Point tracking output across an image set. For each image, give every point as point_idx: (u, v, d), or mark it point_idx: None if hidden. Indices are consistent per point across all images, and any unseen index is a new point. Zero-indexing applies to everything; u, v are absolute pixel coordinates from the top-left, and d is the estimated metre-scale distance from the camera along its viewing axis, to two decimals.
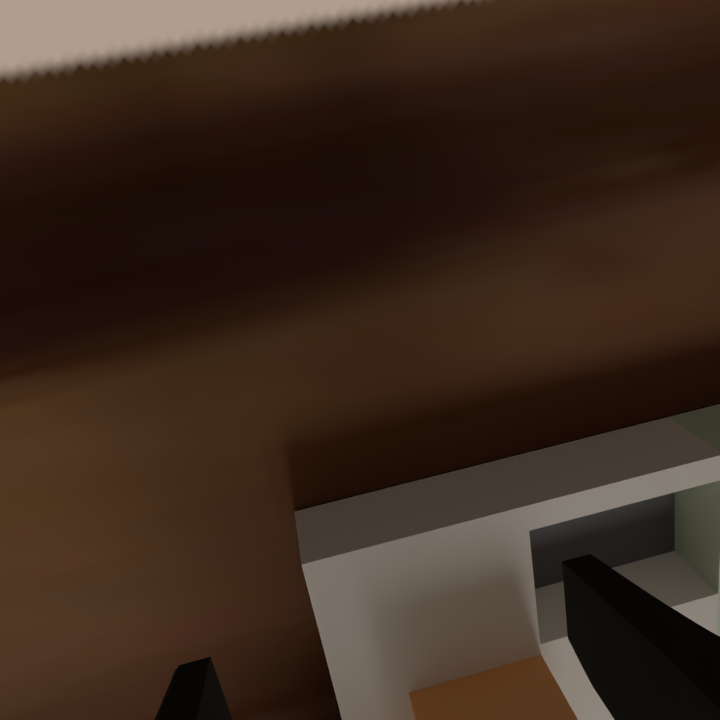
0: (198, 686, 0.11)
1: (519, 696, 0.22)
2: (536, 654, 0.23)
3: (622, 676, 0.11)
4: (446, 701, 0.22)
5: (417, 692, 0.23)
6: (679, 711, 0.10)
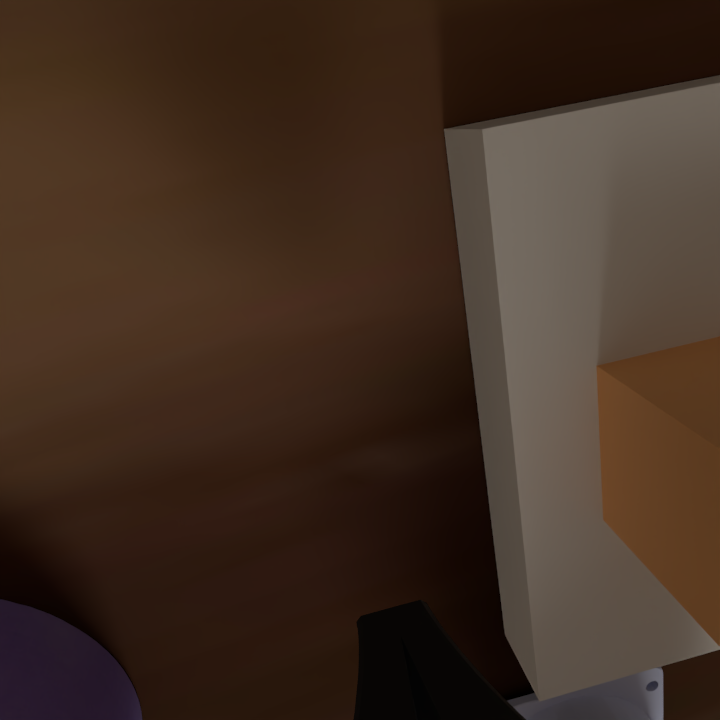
0: (392, 632, 0.12)
1: None
2: None
3: None
4: (654, 366, 0.17)
5: (607, 367, 0.17)
6: None
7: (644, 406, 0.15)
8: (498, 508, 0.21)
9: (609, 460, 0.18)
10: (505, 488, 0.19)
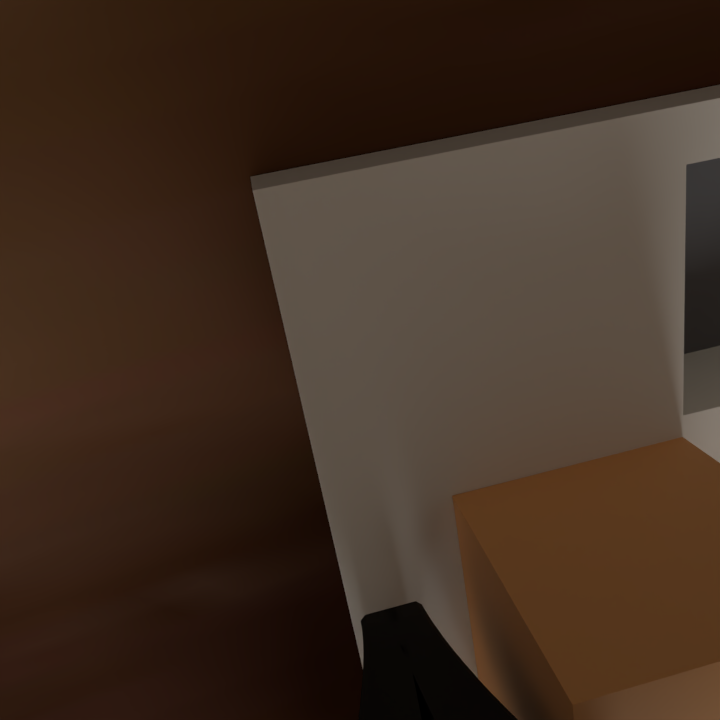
0: (397, 631, 0.12)
1: (660, 488, 0.12)
2: (674, 436, 0.13)
3: None
4: (523, 502, 0.12)
5: (467, 497, 0.13)
6: None
7: (494, 576, 0.11)
8: None
9: (474, 616, 0.13)
10: None
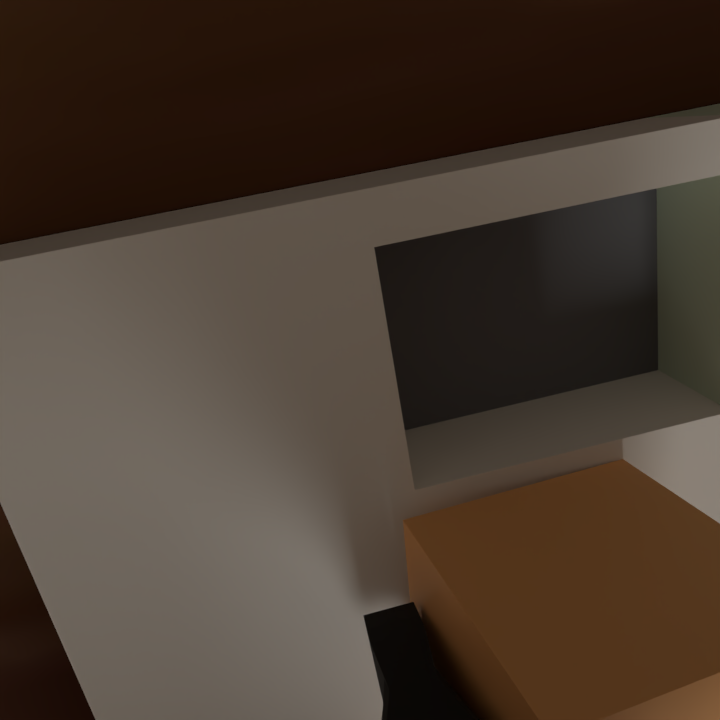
0: (417, 626, 0.12)
1: (608, 509, 0.12)
2: (409, 510, 0.13)
3: None
4: (476, 525, 0.12)
5: (418, 521, 0.12)
6: None
7: (453, 604, 0.10)
8: None
9: None
10: None
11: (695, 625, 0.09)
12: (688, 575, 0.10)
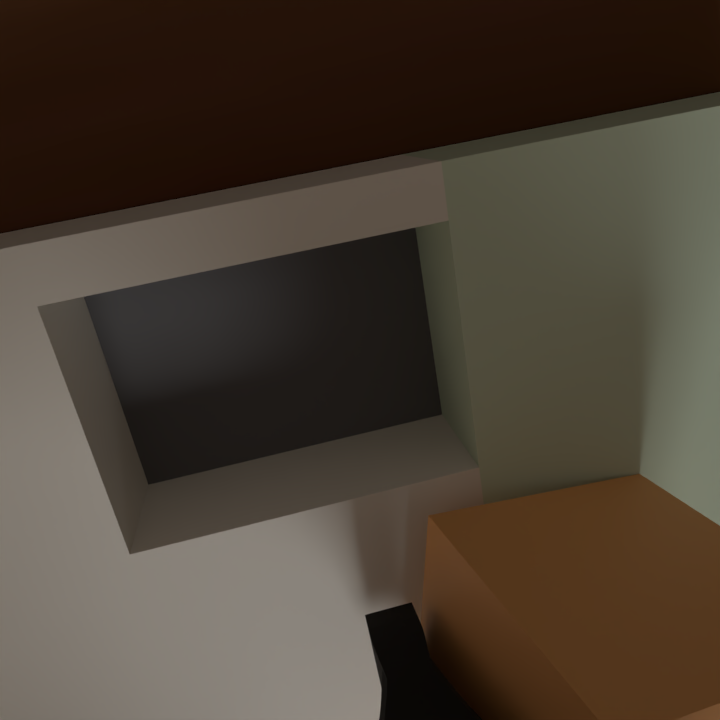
0: (415, 626, 0.12)
1: (633, 520, 0.12)
2: (128, 574, 0.12)
3: None
4: (505, 526, 0.12)
5: (442, 518, 0.12)
6: None
7: (491, 602, 0.10)
8: None
9: (431, 647, 0.12)
10: None
11: None
12: None
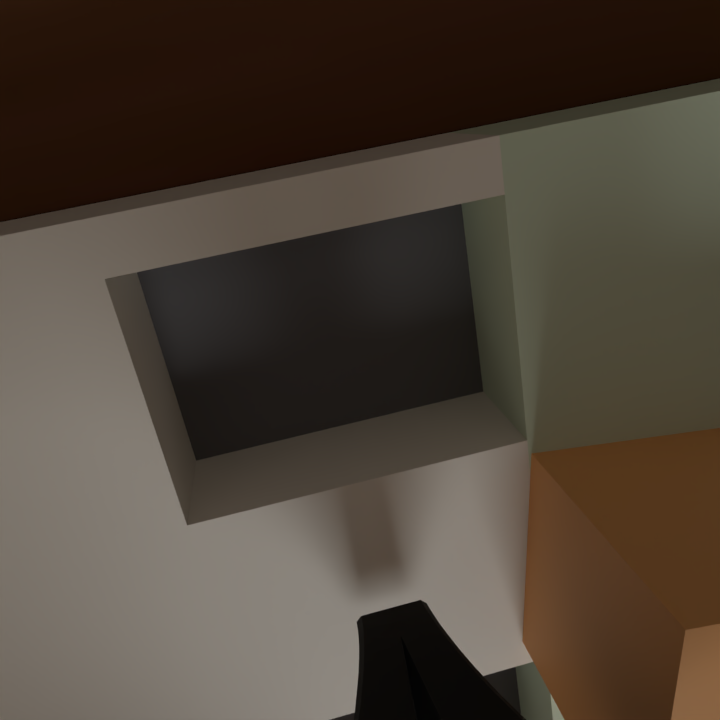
0: (392, 632, 0.12)
1: None
2: (184, 545, 0.13)
3: None
4: (603, 464, 0.13)
5: (545, 456, 0.13)
6: None
7: (584, 524, 0.11)
8: None
9: (535, 574, 0.14)
10: None
11: None
12: None
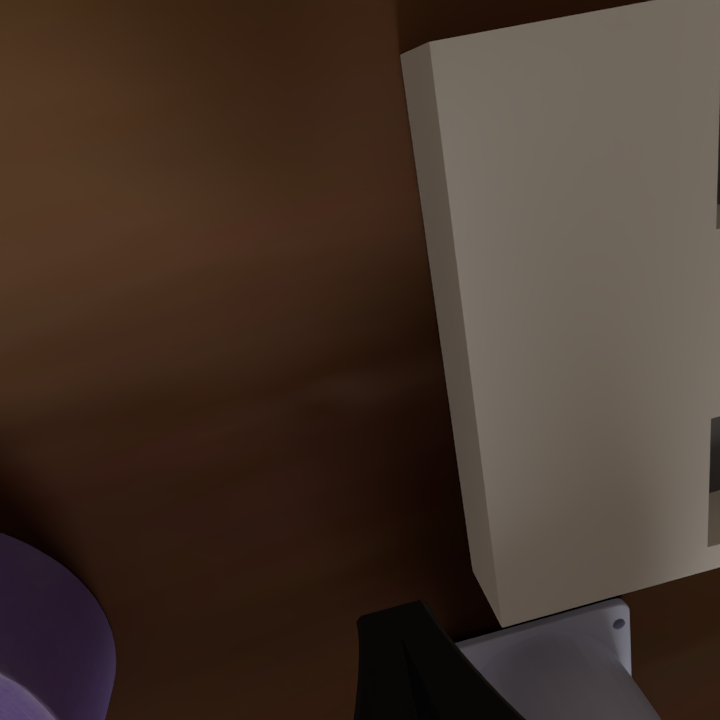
0: (392, 633, 0.12)
1: None
2: (709, 246, 0.18)
3: None
4: None
5: None
6: None
7: None
8: (461, 437, 0.21)
9: None
10: (465, 413, 0.20)
11: None
12: None
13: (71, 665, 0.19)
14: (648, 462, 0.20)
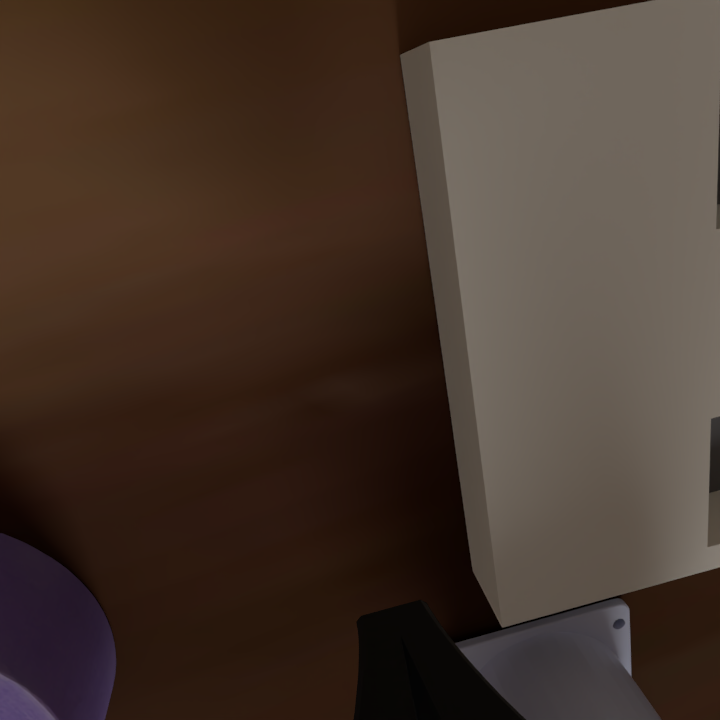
0: (392, 633, 0.12)
1: None
2: (709, 246, 0.18)
3: None
4: None
5: None
6: None
7: None
8: (461, 437, 0.21)
9: None
10: (465, 413, 0.20)
11: None
12: None
13: (71, 665, 0.19)
14: (648, 462, 0.20)
